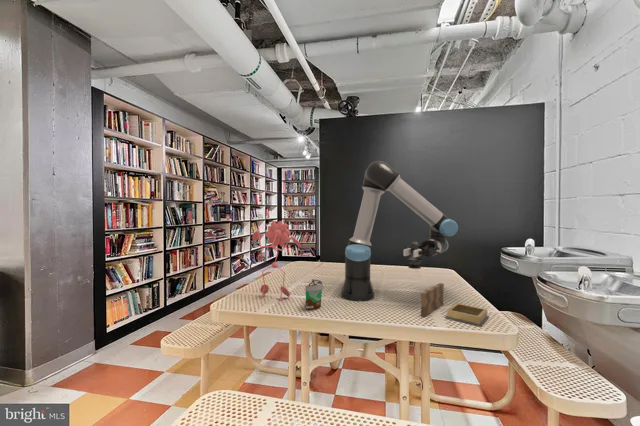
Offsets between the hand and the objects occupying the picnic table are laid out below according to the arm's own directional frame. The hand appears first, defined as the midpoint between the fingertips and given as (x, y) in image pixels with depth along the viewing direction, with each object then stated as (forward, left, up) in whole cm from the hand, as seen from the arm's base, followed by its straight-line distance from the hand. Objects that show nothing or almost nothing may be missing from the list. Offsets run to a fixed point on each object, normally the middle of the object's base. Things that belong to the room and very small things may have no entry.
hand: (409, 253), depth 121 cm
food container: (-38, +3, -23) cm, 44 cm away
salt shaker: (+4, +4, -7) cm, 9 cm away
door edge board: (+9, -3, -22) cm, 24 cm away
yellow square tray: (+18, -12, -22) cm, 31 cm away
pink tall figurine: (-55, +19, -23) cm, 62 cm away
